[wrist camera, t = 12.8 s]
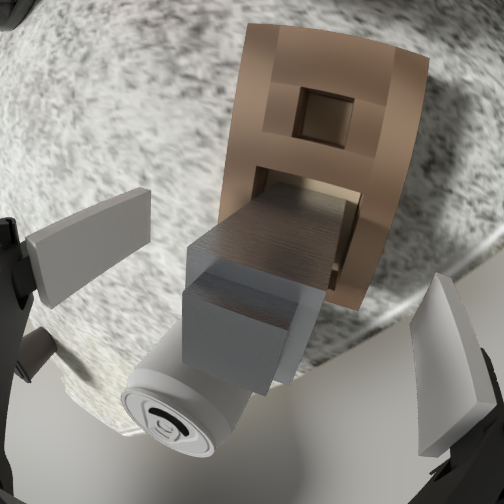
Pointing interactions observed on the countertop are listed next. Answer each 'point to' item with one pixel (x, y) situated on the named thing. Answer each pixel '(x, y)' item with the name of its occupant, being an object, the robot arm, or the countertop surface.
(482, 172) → the countertop surface
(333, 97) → the socket block
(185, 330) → the grey square peg
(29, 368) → the coffee cup
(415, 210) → the countertop surface
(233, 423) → the beverage can
